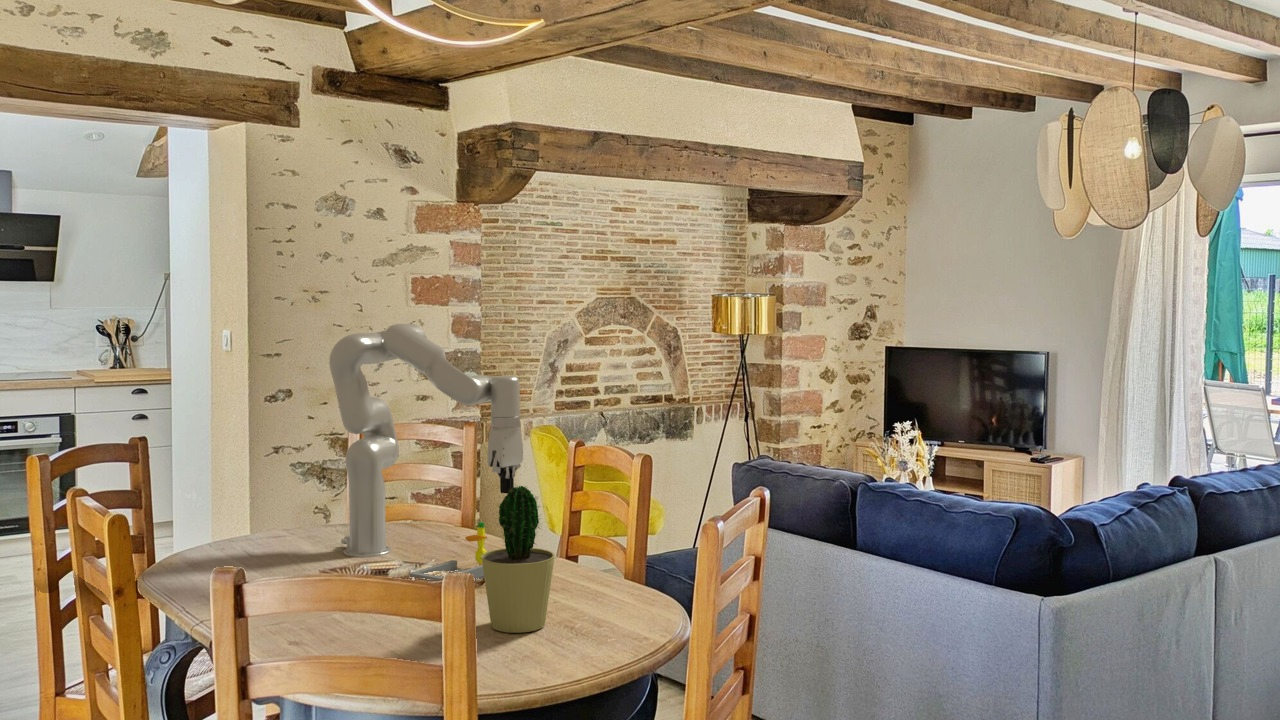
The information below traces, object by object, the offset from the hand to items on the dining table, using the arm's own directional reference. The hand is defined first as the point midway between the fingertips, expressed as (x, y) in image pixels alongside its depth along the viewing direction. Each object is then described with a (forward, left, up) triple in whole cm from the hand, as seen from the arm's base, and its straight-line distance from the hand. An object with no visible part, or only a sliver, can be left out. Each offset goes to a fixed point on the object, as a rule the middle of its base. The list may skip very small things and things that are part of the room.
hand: (507, 492), depth 277 cm
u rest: (0, -23, -19) cm, 29 cm away
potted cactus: (+35, -43, -19) cm, 59 cm away
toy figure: (-2, -9, -19) cm, 21 cm away
